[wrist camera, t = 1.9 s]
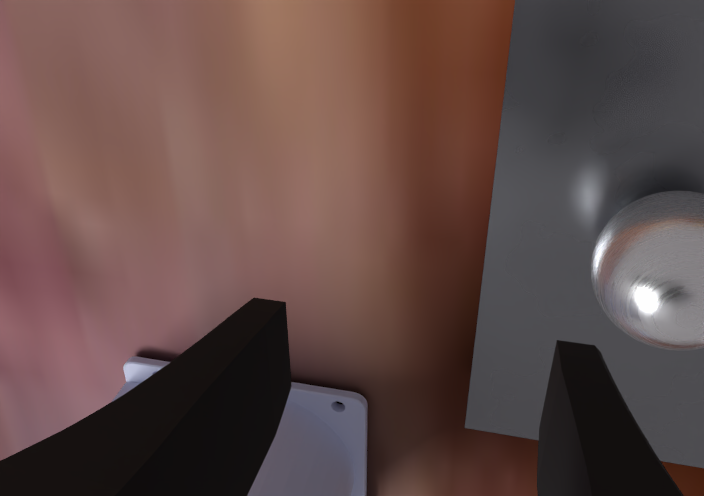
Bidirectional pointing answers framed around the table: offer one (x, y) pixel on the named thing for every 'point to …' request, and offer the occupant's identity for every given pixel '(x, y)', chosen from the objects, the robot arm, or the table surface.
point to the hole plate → (587, 206)
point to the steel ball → (654, 270)
